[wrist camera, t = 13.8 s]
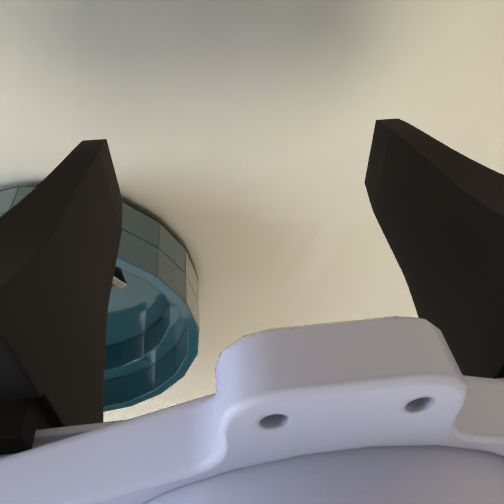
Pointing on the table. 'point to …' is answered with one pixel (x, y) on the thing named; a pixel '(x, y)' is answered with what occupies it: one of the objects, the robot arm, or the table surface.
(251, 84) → the table surface
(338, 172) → the table surface
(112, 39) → the table surface
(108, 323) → the bowl
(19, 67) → the table surface
